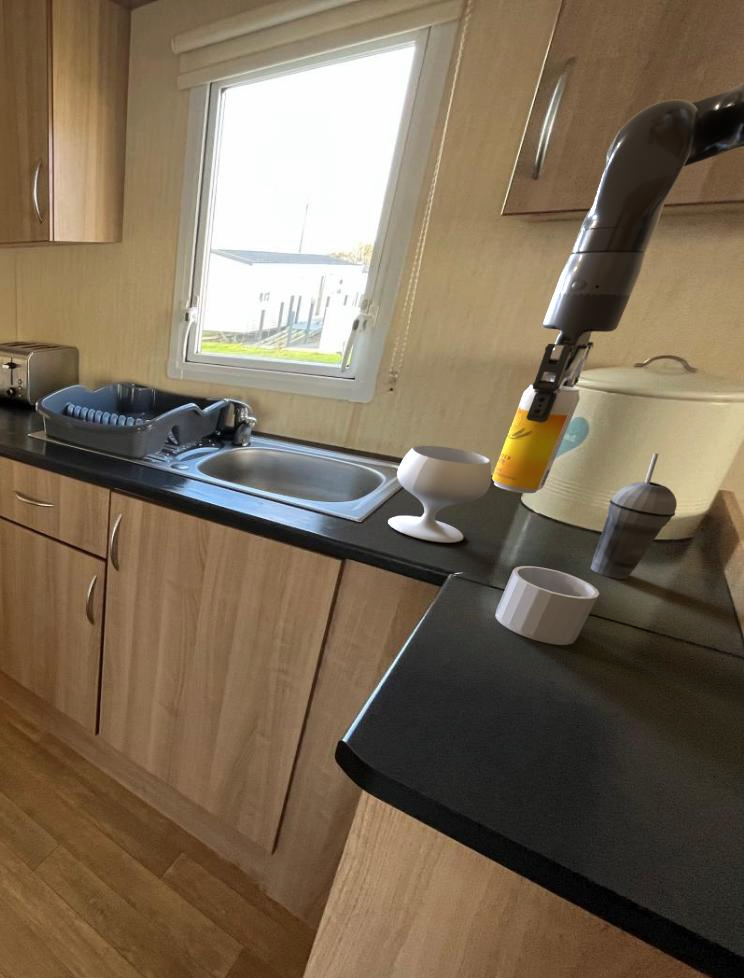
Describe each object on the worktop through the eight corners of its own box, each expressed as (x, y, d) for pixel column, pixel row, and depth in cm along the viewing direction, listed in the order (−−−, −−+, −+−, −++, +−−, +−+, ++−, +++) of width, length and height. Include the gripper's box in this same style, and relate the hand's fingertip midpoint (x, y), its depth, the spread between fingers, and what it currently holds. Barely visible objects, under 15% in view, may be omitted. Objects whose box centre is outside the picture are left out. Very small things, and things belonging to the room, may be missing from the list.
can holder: (582, 630, 74) (605, 585, 71) (567, 653, 69) (591, 605, 66) (505, 602, 80) (523, 560, 77) (486, 622, 75) (505, 577, 73)
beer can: (493, 478, 87) (529, 382, 81) (543, 488, 83) (584, 387, 77) (486, 486, 83) (524, 386, 77) (538, 497, 79) (581, 392, 73)
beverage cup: (637, 588, 86) (703, 465, 78) (576, 570, 91) (631, 453, 83) (641, 574, 90) (703, 456, 82) (582, 558, 95) (635, 446, 87)
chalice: (431, 550, 96) (460, 468, 90) (365, 520, 108) (386, 446, 102) (487, 541, 100) (518, 463, 94) (417, 513, 112) (440, 442, 106)
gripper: (621, 291, 65) (563, 430, 72) (640, 293, 74) (587, 417, 80) (541, 290, 71) (495, 419, 77) (567, 292, 79) (523, 408, 86)
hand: (542, 417), depth 79 cm, fingers closed on beer can, 6 cm apart
